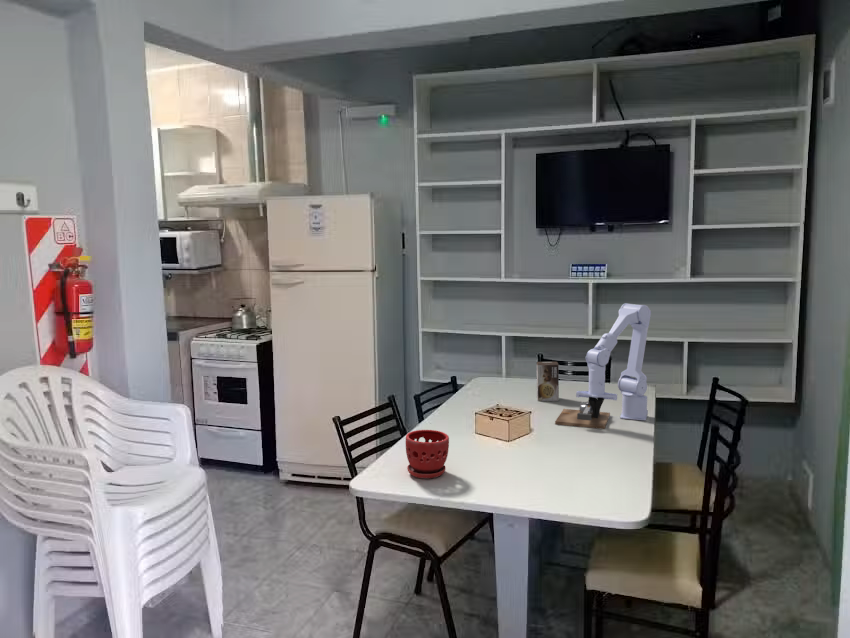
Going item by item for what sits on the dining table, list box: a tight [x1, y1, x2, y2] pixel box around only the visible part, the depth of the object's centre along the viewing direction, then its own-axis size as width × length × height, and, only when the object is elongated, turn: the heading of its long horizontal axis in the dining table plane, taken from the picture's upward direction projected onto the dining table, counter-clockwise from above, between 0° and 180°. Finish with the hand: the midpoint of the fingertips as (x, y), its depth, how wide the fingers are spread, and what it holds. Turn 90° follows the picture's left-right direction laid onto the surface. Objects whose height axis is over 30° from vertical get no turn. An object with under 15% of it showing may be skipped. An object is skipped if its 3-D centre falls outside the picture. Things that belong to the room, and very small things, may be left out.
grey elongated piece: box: [577, 401, 601, 420], centre depth 236 cm, size 18×8×5 cm, turn 158°
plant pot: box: [405, 429, 450, 479], centre depth 188 cm, size 13×13×12 cm
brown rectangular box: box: [536, 361, 560, 402], centre depth 269 cm, size 9×6×16 cm
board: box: [554, 408, 611, 430], centre depth 239 cm, size 18×18×1 cm
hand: (596, 417), depth 231 cm, fingers closed
